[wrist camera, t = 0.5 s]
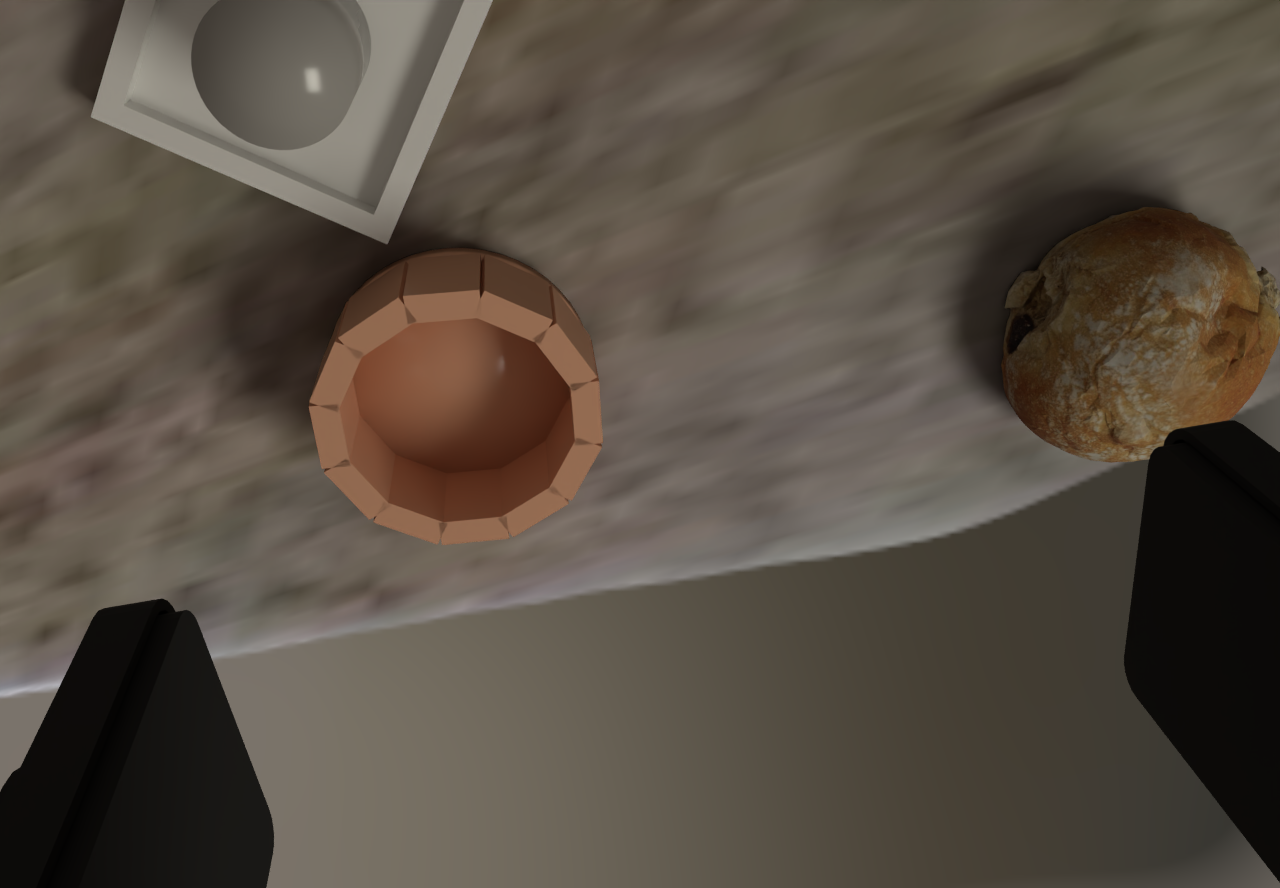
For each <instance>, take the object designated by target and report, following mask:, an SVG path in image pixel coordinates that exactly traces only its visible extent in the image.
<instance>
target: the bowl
mask: <svg viewBox="0 0 1280 888" xmlns="http://www.w3.org/2000/svg"><path fill="white" fill-rule="evenodd" d="M309 402H310V404H309V411H310V415H311V420H312V425H313V429H314V434H315V439H316V443H317V448H318V453H319V457H320V462H321V467H322V469H325V471H324V473H325V474H326V475H327V476H328V477H329V478H330V479H331V480H332V481H333V482H334V483H335V485H336V486H337V487H338V488H339V489H340V490H341V491H342V492H343V493H344V494H345V495H346V496H347V497H348V498H349V499H350V500H351V501H352V502H353V503H354V504H355V505H356V506H357V507H358V508H359V509H360V511H361V512H362V513H363V514H364V515H365V516H366V517H367V518H368V519H369V520H370V519H372V518H373V517H374V523H377V524H380V525H383V526H385V527H388V528H391V529H394V530H397V531H400V532H403V533H406V534H409V535H411V536H414V537H417V538H420V539H423V540H426V541H429V542H432V543H435V544H438V542H439V540H440V539H441V541H442V545H448V544H458V543H468V542H478V541H489V540H499V539H509V533H510V534H511V535H512V536H513V537H514V536H516V535H518V534H519V533H521V532H523V531H524V530H526V529H528V528H529V527H531V526H533V525H534V524H536V523H538V522H539V521H541V520H543V519H544V518H546V517H547V516H549V515H551V514H552V513H554V512H556V511H557V510H559V509H561V508H562V507H564V506H566V505H567V504H569V502H568V499H569V500H571V501H572V499H573V497H574V496H575V494H576V492H577V490H578V489H579V487H580V485H581V483H582V482H583V480H584V478H585V476H586V474H587V473H588V471H589V469H590V467H591V466H592V464H593V462H594V460H595V458H596V457H597V455H598V453H599V451H600V450H601V448H602V445H601V443H603V437H602V422H601V406H600V391H599V379H598V374H597V368H596V363H595V357H594V352H593V346H592V341H591V340H590V335H589V334H588V333H587V331H586V330H585V329H584V327H583V324H582V322H581V320H580V318H579V316H578V314H577V313H576V311H575V309H574V308H573V306H572V305H571V303H570V302H569V301H568V299H567V298H566V297H565V296H564V295H563V293H562V292H561V291H560V290H559V289H558V288H557V287H556V286H555V285H554V284H553V283H551V282H550V281H549V280H548V279H547V278H546V277H544V276H543V275H541V274H540V273H538V272H537V271H536V270H534V269H533V268H531V267H529V266H527V265H525V264H523V263H521V262H519V261H517V260H515V259H512V258H510V257H507V256H504V255H501V254H498V253H494V252H490V251H485V250H480V249H471V248H443V249H436V250H429V251H425V252H421V253H417V254H414V255H410V256H408V257H405V258H403V259H401V260H398V261H396V262H394V263H392V264H390V265H388V266H387V267H385V268H383V269H382V270H380V271H378V272H377V273H376V274H375V275H373V276H372V277H371V278H369V279H368V280H367V281H366V282H365V283H364V284H363V285H362V286H361V287H360V288H359V289H358V290H357V291H356V292H355V293H354V294H353V296H351V297H350V298H349V301H347V302H346V304H345V306H344V309H343V311H342V313H341V315H340V317H339V318H338V320H337V323H336V326H335V329H334V332H333V335H332V337H331V339H330V342H329V344H328V346H327V349H326V351H325V353H324V356H323V358H322V361H321V365H320V368H319V371H318V375H317V378H316V381H315V384H314V388H313V391H312V394H311V397H310V401H309Z"/></svg>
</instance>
